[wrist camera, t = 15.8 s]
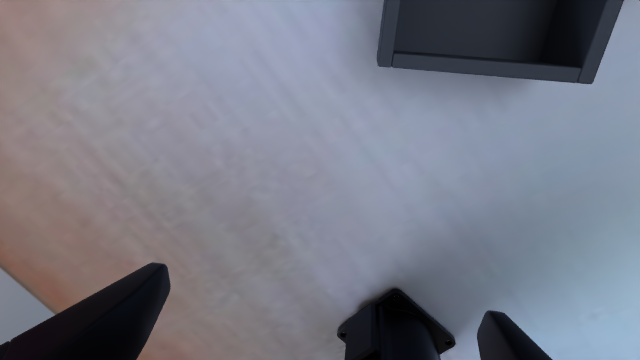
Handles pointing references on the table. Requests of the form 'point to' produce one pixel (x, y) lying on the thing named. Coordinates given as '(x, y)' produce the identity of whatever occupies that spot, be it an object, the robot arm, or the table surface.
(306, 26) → the table surface
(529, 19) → the caddy
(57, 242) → the table surface
